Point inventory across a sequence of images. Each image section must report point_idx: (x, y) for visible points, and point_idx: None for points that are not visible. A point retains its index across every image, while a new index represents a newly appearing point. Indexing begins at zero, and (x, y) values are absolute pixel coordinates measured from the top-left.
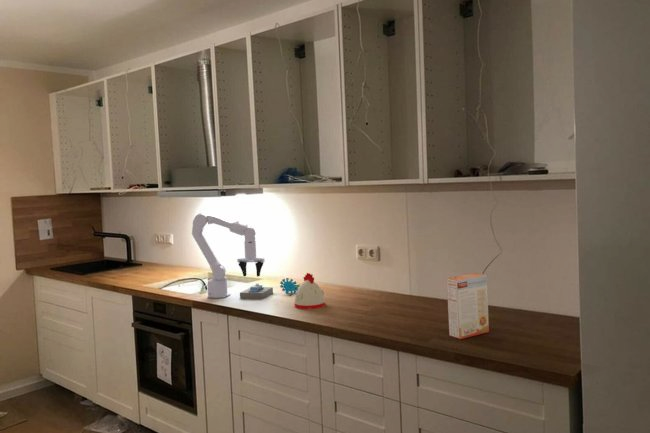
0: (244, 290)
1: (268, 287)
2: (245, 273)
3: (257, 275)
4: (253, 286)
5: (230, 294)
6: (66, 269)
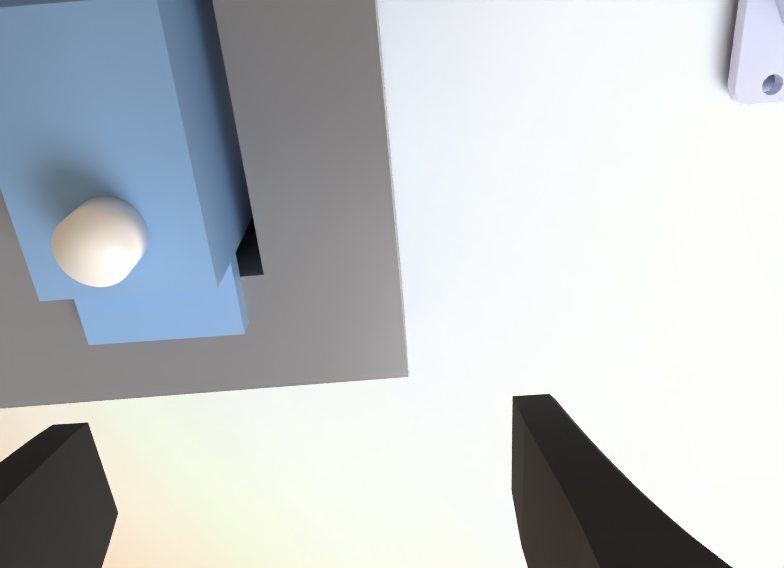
0: (375, 43)
1: (49, 391)
2: (526, 506)
3: (46, 438)
4: (135, 115)
5: (729, 81)
6: None
